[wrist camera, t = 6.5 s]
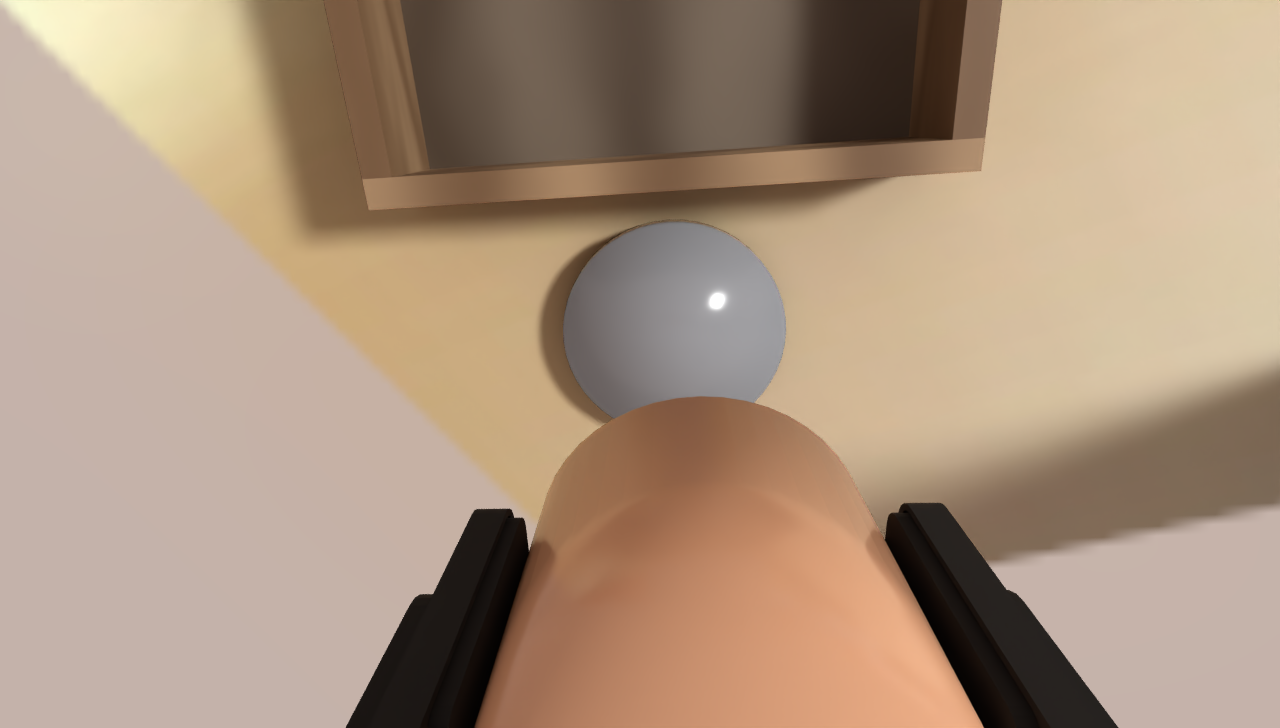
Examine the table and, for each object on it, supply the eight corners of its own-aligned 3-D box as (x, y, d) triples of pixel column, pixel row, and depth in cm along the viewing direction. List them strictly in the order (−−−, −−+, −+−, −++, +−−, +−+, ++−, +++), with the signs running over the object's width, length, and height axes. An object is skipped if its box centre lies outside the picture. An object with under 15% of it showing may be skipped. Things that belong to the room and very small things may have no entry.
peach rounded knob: (879, 392, 10) (1308, 929, 3) (850, 665, 12) (1081, 1334, 5) (524, 400, 10) (271, 907, 4) (555, 666, 12) (427, 1304, 6)
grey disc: (783, 212, 25) (788, 216, 24) (779, 419, 28) (784, 429, 27) (555, 226, 25) (550, 230, 24) (577, 429, 28) (575, 439, 27)
